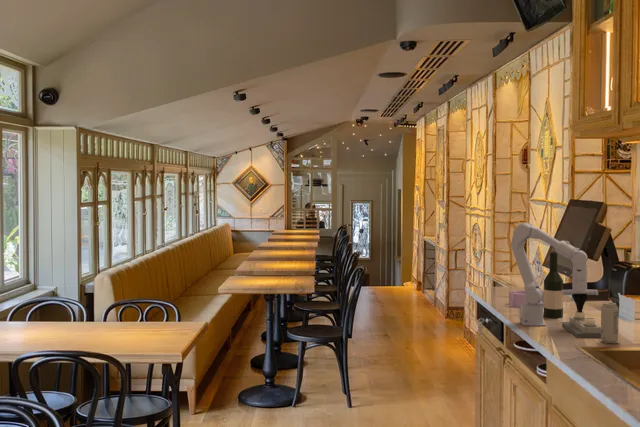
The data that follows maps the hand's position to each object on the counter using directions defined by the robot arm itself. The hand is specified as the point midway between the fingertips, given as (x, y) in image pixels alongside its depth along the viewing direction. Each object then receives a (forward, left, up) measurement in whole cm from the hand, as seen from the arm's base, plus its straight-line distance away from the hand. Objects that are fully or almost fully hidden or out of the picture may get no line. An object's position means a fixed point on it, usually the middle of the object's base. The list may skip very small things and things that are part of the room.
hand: (579, 311), depth 282 cm
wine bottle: (-5, +23, -7) cm, 25 cm away
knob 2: (0, -7, -5) cm, 9 cm away
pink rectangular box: (-10, +49, -7) cm, 51 cm away
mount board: (0, -7, -7) cm, 10 cm away
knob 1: (0, 0, -3) cm, 3 cm away
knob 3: (0, -14, -3) cm, 14 cm away
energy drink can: (+4, -25, -7) cm, 26 cm away
